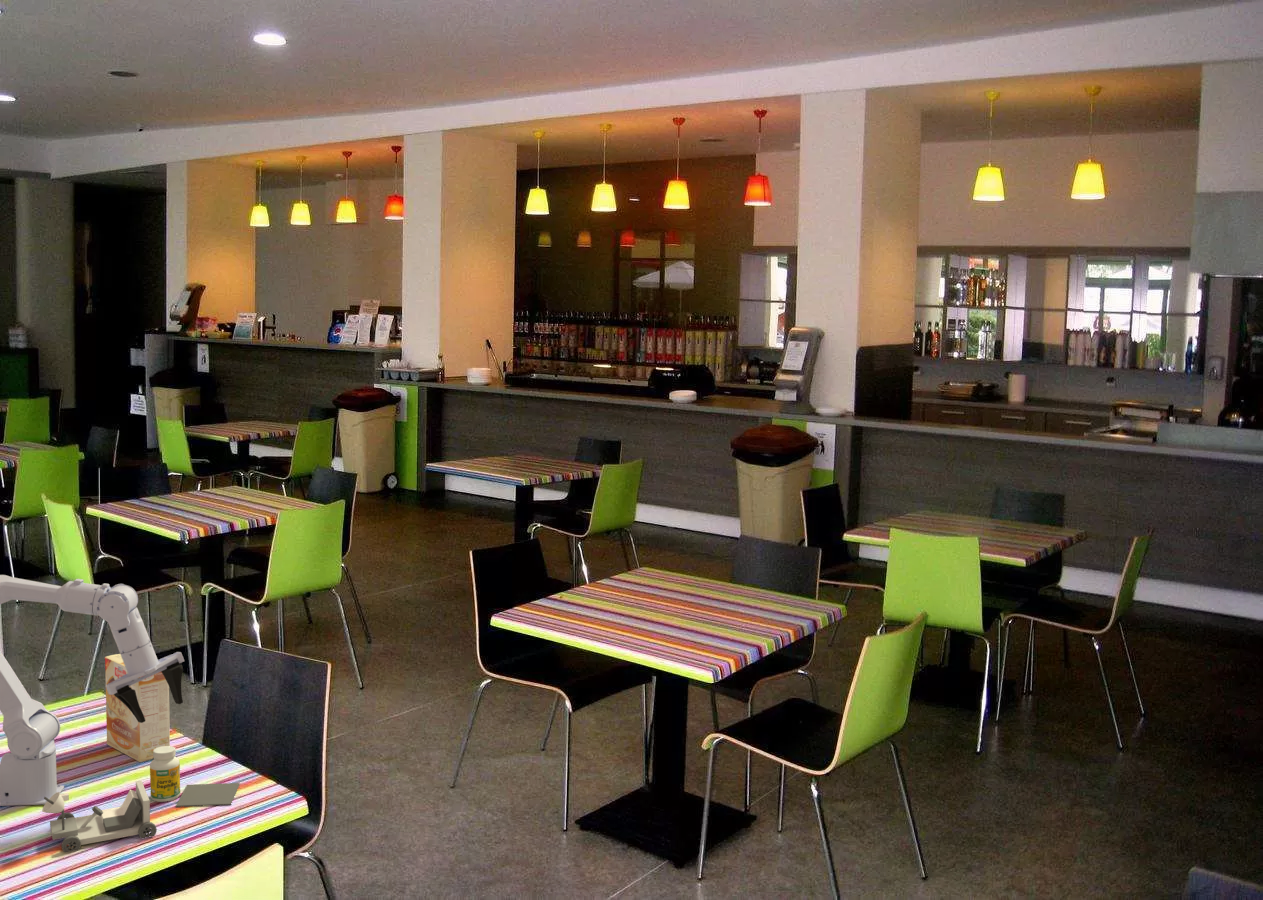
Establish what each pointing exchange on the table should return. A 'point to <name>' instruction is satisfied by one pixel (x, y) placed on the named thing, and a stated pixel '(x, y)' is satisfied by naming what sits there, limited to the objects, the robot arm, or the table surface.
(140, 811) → the toy car
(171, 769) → the supplement bottle
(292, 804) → the table surface
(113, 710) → the coffeecake box
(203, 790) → the mat
